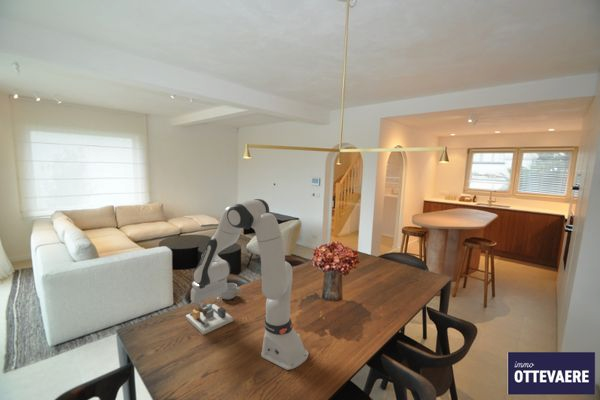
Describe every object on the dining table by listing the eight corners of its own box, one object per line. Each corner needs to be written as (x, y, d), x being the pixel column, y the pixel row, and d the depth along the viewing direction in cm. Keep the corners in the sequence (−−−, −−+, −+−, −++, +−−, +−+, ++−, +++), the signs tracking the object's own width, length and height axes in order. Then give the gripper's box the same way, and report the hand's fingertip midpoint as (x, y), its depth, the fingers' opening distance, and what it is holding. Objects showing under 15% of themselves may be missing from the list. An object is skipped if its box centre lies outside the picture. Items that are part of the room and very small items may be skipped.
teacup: (216, 298, 168) (215, 286, 167) (228, 292, 177) (228, 280, 176) (233, 304, 161) (232, 292, 160) (244, 297, 171) (244, 285, 170)
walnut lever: (211, 312, 145) (198, 306, 139) (209, 316, 144) (195, 311, 138) (209, 310, 147) (195, 305, 141) (206, 314, 146) (193, 309, 140)
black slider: (225, 315, 145) (225, 309, 144) (221, 317, 143) (221, 311, 142) (221, 313, 147) (221, 307, 147) (217, 314, 146) (217, 308, 145)
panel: (232, 320, 144) (232, 311, 144) (203, 334, 132) (202, 324, 131) (214, 307, 158) (214, 298, 157) (185, 318, 145) (185, 309, 145)
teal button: (213, 307, 153) (213, 305, 152) (207, 310, 150) (207, 307, 150) (210, 305, 155) (210, 303, 155) (205, 307, 152) (205, 305, 152)
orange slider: (200, 317, 143) (200, 311, 142) (195, 319, 141) (195, 313, 140) (196, 314, 145) (196, 308, 145) (192, 316, 143) (192, 310, 143)
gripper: (223, 273, 153) (223, 295, 155) (188, 283, 139) (189, 308, 140) (229, 276, 149) (229, 299, 151) (194, 287, 134) (195, 313, 136)
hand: (210, 304), depth 145 cm, fingers open, 8 cm apart
